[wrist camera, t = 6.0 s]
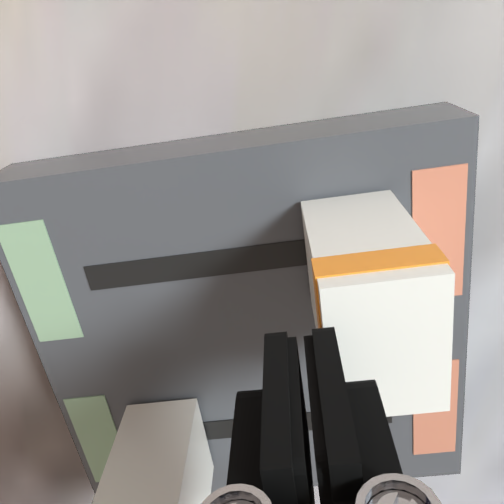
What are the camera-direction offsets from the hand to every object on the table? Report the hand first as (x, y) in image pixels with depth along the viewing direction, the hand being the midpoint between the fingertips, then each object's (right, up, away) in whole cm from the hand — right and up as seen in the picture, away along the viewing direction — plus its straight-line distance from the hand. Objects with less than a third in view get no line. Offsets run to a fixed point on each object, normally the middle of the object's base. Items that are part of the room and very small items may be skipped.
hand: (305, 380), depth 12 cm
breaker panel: (-1, 0, +10) cm, 10 cm away
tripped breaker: (+2, +3, +5) cm, 7 cm away
